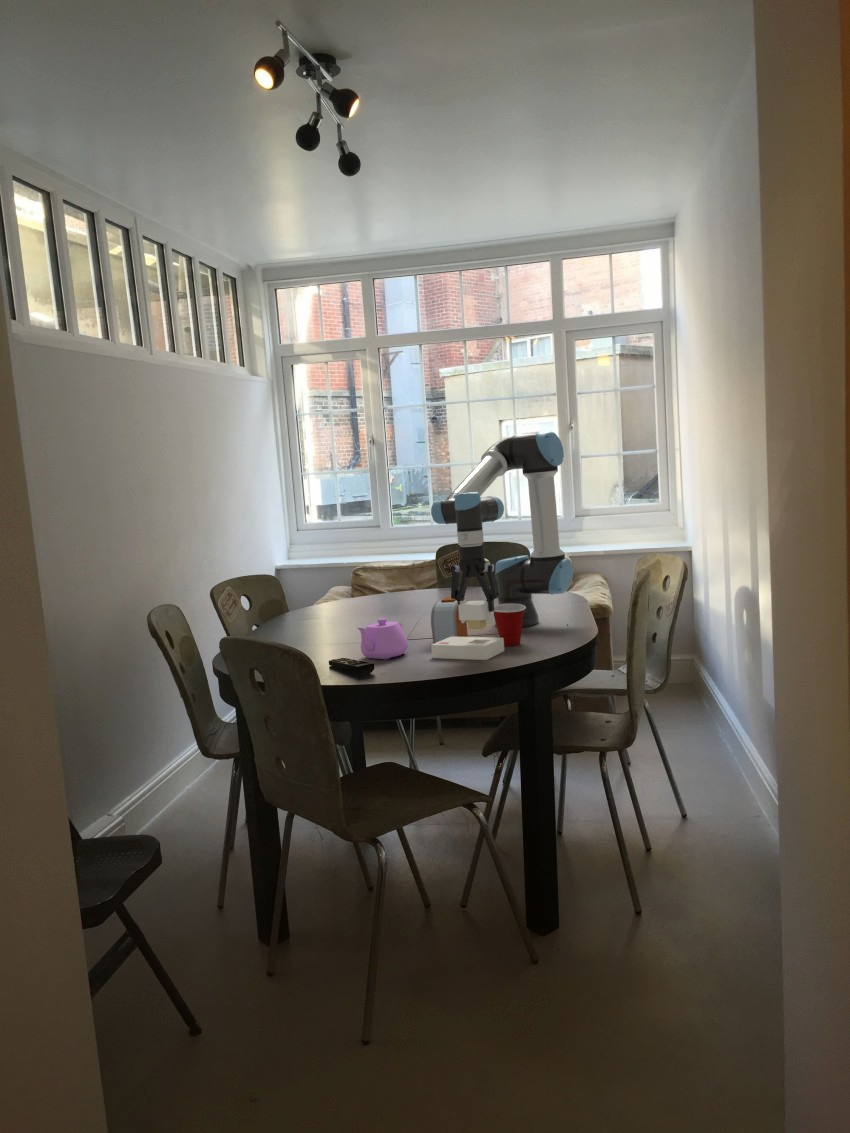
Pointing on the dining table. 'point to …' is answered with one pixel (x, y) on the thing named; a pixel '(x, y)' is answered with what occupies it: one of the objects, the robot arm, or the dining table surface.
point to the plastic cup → (509, 622)
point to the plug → (473, 614)
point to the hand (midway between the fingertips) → (477, 622)
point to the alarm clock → (446, 620)
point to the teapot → (383, 640)
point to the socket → (468, 648)
